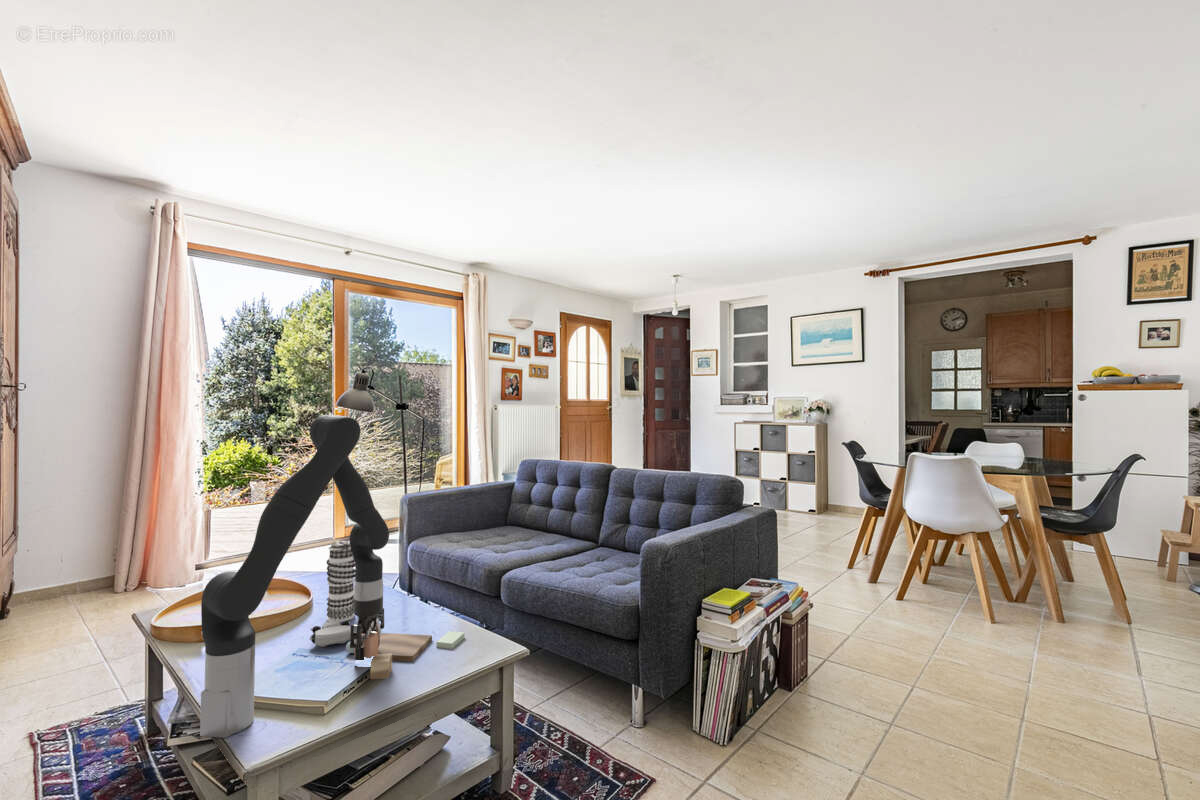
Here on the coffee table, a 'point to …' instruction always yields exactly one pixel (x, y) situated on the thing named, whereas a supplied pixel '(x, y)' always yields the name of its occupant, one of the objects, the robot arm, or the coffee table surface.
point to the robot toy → (331, 633)
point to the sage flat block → (450, 640)
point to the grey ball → (348, 649)
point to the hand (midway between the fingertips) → (367, 654)
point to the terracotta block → (371, 645)
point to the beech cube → (381, 666)
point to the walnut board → (403, 645)
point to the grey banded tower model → (340, 582)
